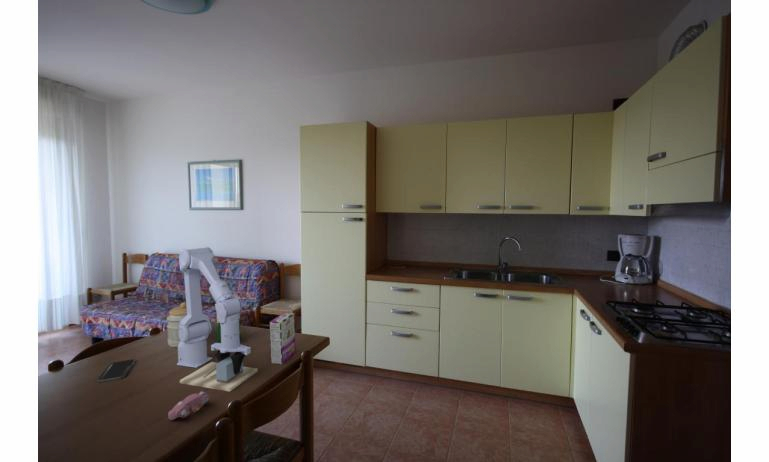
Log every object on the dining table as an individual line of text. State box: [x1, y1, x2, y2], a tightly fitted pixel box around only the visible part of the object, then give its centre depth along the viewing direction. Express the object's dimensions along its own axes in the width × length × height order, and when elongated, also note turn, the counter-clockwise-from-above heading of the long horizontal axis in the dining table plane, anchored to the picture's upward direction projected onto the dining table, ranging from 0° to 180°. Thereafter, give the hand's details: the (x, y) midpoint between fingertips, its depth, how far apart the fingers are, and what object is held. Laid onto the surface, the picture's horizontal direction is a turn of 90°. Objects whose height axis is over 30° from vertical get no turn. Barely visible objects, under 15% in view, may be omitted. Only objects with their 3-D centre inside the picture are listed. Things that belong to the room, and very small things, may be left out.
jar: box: [166, 301, 187, 348], centre depth 147 cm, size 13×13×18 cm
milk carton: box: [214, 303, 242, 343], centre depth 147 cm, size 9×9×20 cm
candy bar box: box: [269, 312, 297, 365], centre depth 131 cm, size 11×5×16 cm, turn 168°
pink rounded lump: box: [167, 390, 211, 421], centre depth 95 cm, size 10×5×7 cm, turn 149°
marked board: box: [179, 361, 258, 392], centre depth 116 cm, size 20×14×1 cm
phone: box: [97, 358, 136, 383], centre depth 121 cm, size 8×1×15 cm
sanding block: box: [216, 353, 244, 383], centre depth 114 cm, size 4×8×6 cm, turn 164°
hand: (231, 372), depth 115 cm, fingers closed on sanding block, 4 cm apart
